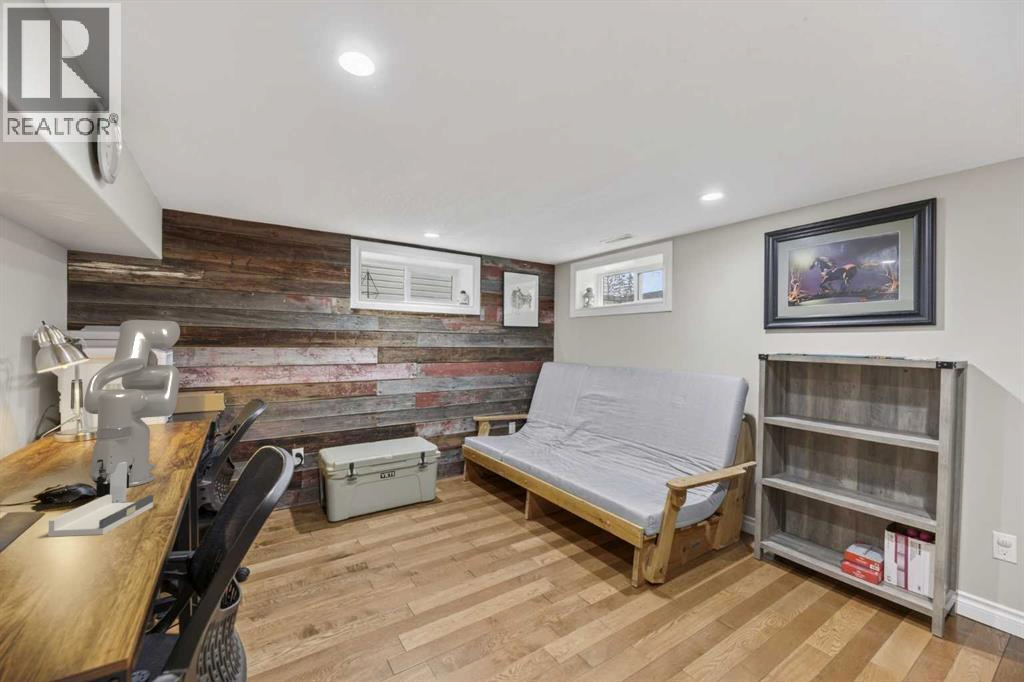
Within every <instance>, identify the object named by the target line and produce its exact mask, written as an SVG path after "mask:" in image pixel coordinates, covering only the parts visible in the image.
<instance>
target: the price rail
mask: <svg viewBox="0 0 1024 682" xmlns="http://www.w3.org/2000/svg"><path fill="white" fill-rule="evenodd" d="M152 502H153V503H154V494H150V495H146V496H145V497H143V498H141V499H140V500H137V501H136V502H135V503H133V504H131V505H129V506H127V507H125V508H123V509H121V510H119V511H118V512H116V513H114V514H112V515H110V516H108V517H106V518H104V519H102V520H100V521H99V529H102V528H105V527H107V526H109V525H111V524H112V523H114V522H116V521H118V520H120V519H122V518H124V517H126V516H127V515H129V514H131V513H133V512H135V511H137V510H139V509H140V508H142V507H144V506H146V505H148V504H150V503H152Z"/></svg>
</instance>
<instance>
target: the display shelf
mask: <svg viewBox="0 0 1024 682" xmlns="http://www.w3.org/2000/svg"><path fill="white" fill-rule="evenodd" d="M133 503H135V502H122V503H112V495H106V496H103V497H101V498H100V497H98V498H97V499H94V500H92V501H90V502H88V503H85V504H84V505H81V506H78V507H77V508H74V509H71V510H69V511H68V512H66V513H63V514H61V515H58V516H56V517H53V518H52V519H48V537H47V538H49V537H51V538H52V537H70V536H71V537H72V536H73V537H75V536H77V537H78V536H93V535H94V536H98V535H105V534H107V533H109V532H110V531H112V530H114V529H116V528H117V527H119V526H121V525H123V524H124V523H126V522H128V521H130V520H132V519H134V518H135V517H137V516H139V515H141V514H143V513H145V512H147V511H148V510H150V509H152V508H153V507H154V501H153V502H152V503H150V504H148V505H146V506H144V507H142V508H140V509H139V510H137V511H135V512H133V513H131V514H129V515H127V516H126V517H124V518H122V519H120V520H118V521H116V522H114V523H112V524H111V525H109V526H107V527H105V528H102V529H99V521H100V520H102V519H104V518H106V517H108V516H110V515H112V514H114V513H116V512H118V511H119V510H121V509H123V508H125V507H127V506H129V505H131V504H133Z"/></svg>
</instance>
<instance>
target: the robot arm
mask: <svg viewBox="0 0 1024 682" xmlns="http://www.w3.org/2000/svg"><path fill="white" fill-rule="evenodd" d="M180 335H181V329H180V325H179V324H178V322H177V321H173V320H157V319H153V320H152V319H131V320H130V319H128V320H126V321H123V322H122V323H121V324H120V326H119V337H118V341H117V344H116V349H115V353H114V358H113V361H112V362H110V363H108V364H107V365H105V366H103V367H102V368H100V370H98V371H97V372H96V373H94V375H92V377H91V378H90V379H89V382H88V385H87V388H86V391H85V396H84V401H83V407H84V410H85V411H86V412H87V413H88V414H90V415H91V414H92V415H97V431H96V433H97V434H96V439H97V440H95V442H94V446H93V450H92V455H91V462H90V463H91V464H90V472H89V475H88V476H89V478H91V479H92V481H93V482H94V484H95V485H96V487H95V490H96V491H95V492H96V493H95V497H96V498H100V497H103V496H106V495H110V483H108V482H109V479H110V474H111V473H113V472H115V471H116V468H117V465H118V464H120V463H123V462H127V487H126V489H128V488H129V487H135V486H140V485H144V484H147V483H150V482H153V481H154V480H155V474H153V473H151V471H152V470H154V469H156V468H157V464H156V463H151V464H150V439H151V437H150V436H151V430H150V427H149V425H148V424H147V423H146V422H145V421H144V420H142V419H143V418H144V419H145V418H158V417H161V418H162V417H168V416H171V415H173V414H174V413H175V411H176V408H177V403H178V395H179V387H180V377H181V376H180V371H179V369H178V368H177V366H175V365H171V364H157V361H158V355H157V354H156V353H155V352H154V351H153V349H171V348H172V347H173V346H174V345H175V344H176V343H177V342H178V341H179V339H180ZM119 378H121V386H122V388H118V389H115V388H111V389H104V387H105V386H106V385H107V384H109V383H111V382H112V381H114V380H117V379H119ZM103 471H106V472H103ZM102 475H106V476H105V479H104V478H103V477H102Z"/></svg>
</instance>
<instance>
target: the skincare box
mask: <svg viewBox="0 0 1024 682" xmlns="http://www.w3.org/2000/svg"><path fill="white" fill-rule="evenodd" d="M103 472H106V471H103ZM105 476H106V475H102V477H103V478H104V479H105ZM108 483H110V495H112V503H127V488H126V487H127V462H123V463H120V464H118V465H117V468H116V471H115V472H113V473H111V474H110V479H109V482H108ZM99 498H101V497H99Z"/></svg>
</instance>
